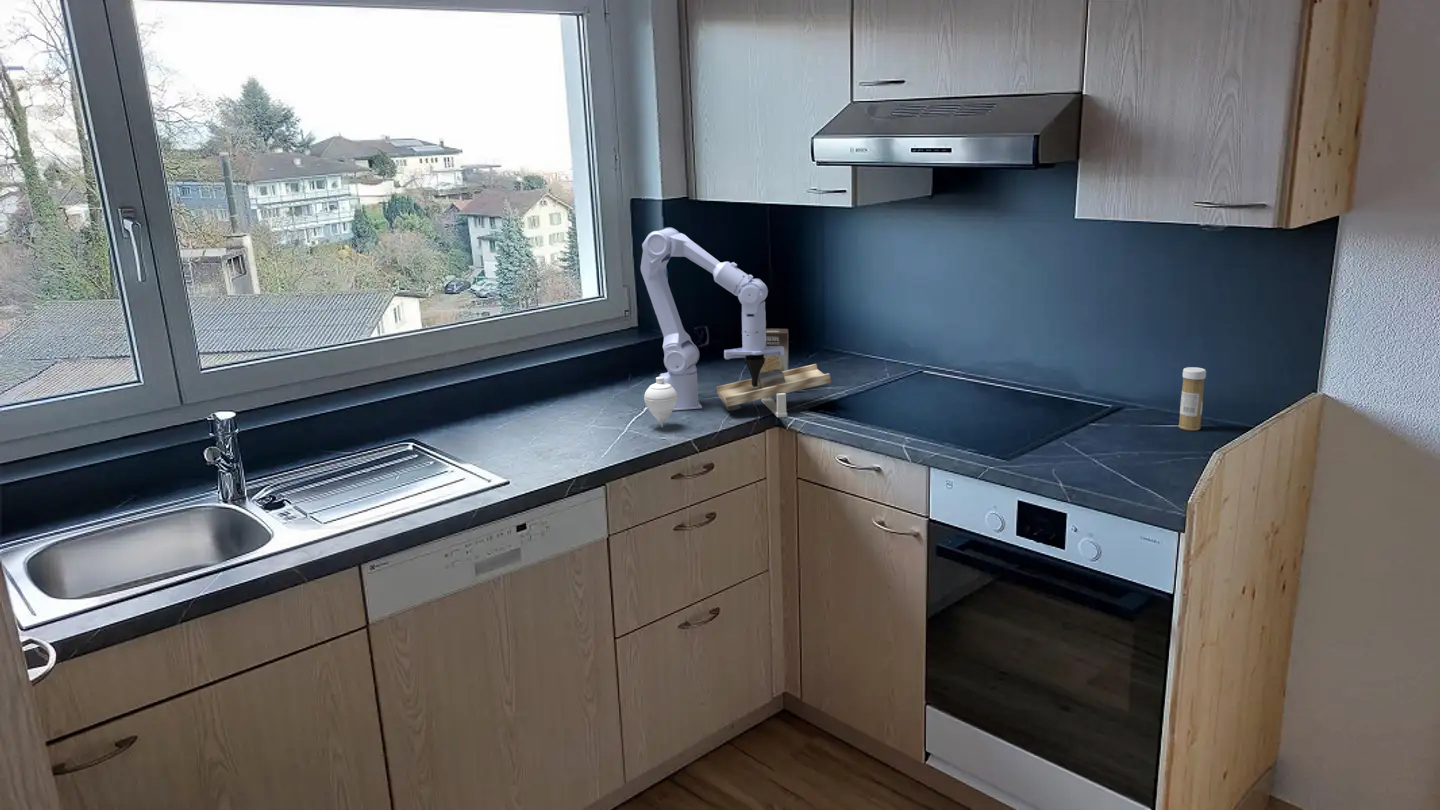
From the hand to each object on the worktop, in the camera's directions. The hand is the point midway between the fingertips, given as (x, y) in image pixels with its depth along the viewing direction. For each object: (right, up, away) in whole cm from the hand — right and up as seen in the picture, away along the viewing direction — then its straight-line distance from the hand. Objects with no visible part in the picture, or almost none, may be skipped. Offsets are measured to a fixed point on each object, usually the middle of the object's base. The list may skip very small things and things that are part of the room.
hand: (754, 385), depth 247 cm
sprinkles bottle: (+95, -10, -24) cm, 98 cm away
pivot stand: (+5, -6, +2) cm, 8 cm away
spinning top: (-22, -10, -11) cm, 26 cm away
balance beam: (+5, -3, +2) cm, 6 cm away
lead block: (+4, 0, +1) cm, 4 cm away
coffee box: (+5, -1, +20) cm, 21 cm away
